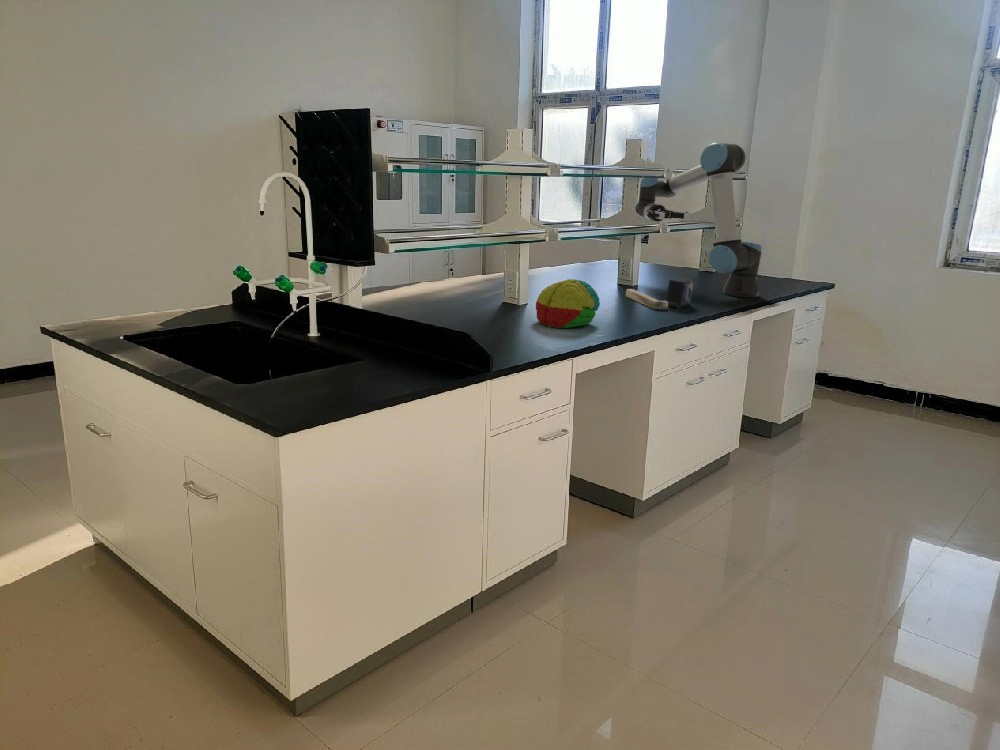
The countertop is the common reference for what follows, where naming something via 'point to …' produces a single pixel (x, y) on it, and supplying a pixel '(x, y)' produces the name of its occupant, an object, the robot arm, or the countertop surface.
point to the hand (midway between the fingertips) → (678, 217)
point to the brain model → (567, 304)
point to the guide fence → (646, 299)
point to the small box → (679, 292)
